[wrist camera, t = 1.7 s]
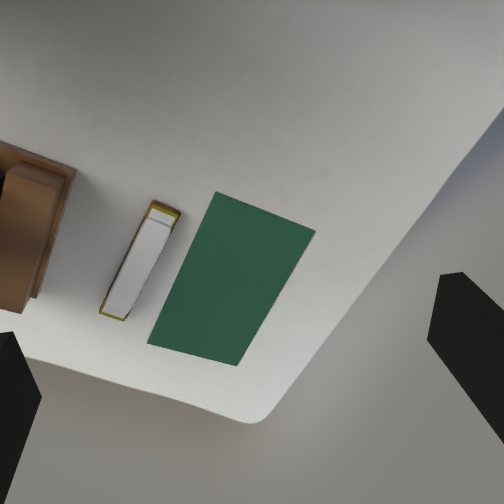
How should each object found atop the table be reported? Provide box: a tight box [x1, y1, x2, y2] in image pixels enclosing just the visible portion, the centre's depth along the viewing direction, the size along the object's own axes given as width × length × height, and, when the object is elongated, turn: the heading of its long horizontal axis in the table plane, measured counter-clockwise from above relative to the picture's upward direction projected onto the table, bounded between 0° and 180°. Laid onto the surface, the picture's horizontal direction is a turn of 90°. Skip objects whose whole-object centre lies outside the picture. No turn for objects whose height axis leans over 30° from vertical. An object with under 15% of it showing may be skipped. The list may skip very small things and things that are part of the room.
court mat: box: [147, 192, 315, 366], centre depth 49 cm, size 12×21×1 cm, turn 154°
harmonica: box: [99, 200, 181, 321], centre depth 45 cm, size 15×3×2 cm, turn 150°
